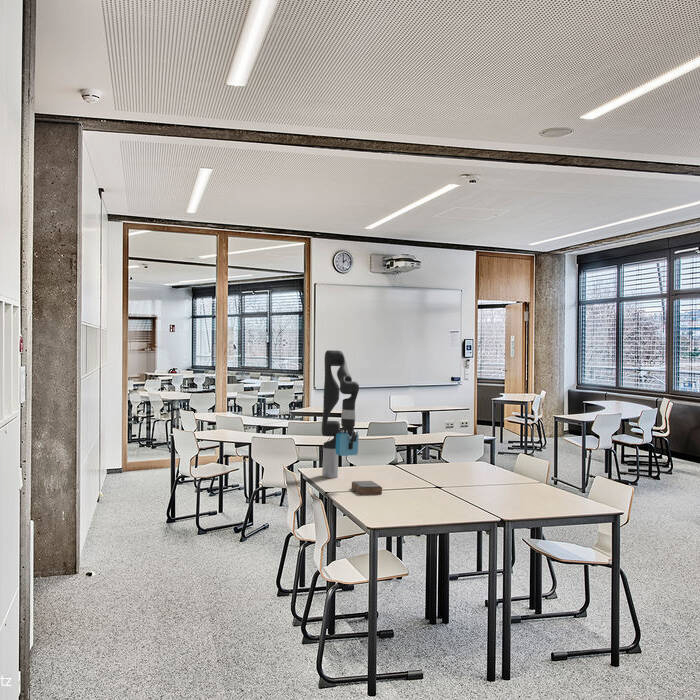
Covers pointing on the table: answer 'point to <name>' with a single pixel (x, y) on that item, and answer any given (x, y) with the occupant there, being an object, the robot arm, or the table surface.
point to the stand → (366, 487)
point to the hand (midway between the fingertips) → (347, 448)
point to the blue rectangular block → (345, 445)
